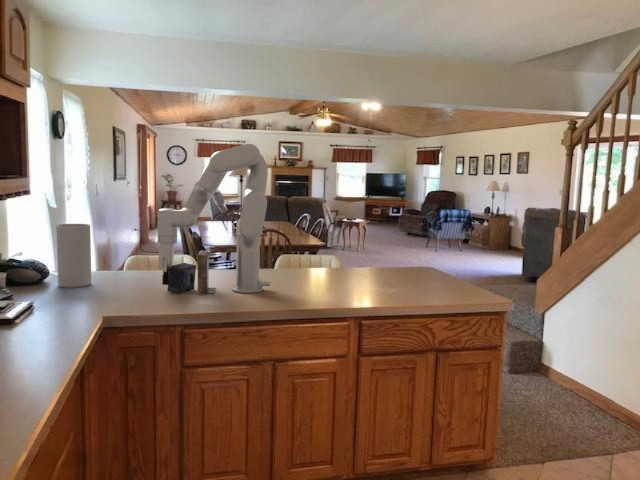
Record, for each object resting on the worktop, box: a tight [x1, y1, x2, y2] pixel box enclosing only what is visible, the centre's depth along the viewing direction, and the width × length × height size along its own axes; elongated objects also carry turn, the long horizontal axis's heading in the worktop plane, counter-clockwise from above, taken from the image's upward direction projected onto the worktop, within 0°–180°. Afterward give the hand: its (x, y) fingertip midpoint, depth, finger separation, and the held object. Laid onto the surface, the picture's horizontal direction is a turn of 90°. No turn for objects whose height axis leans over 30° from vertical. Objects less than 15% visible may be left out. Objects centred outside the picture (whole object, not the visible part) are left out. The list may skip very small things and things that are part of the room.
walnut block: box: [197, 249, 208, 296], centre depth 207 cm, size 3×12×16 cm, turn 9°
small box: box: [167, 262, 197, 295], centre depth 206 cm, size 11×6×10 cm, turn 162°
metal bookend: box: [205, 254, 217, 295], centre depth 207 cm, size 4×11×14 cm, turn 9°
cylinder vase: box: [55, 223, 92, 289], centre depth 209 cm, size 12×12×25 cm
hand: (166, 284), depth 205 cm, fingers closed
